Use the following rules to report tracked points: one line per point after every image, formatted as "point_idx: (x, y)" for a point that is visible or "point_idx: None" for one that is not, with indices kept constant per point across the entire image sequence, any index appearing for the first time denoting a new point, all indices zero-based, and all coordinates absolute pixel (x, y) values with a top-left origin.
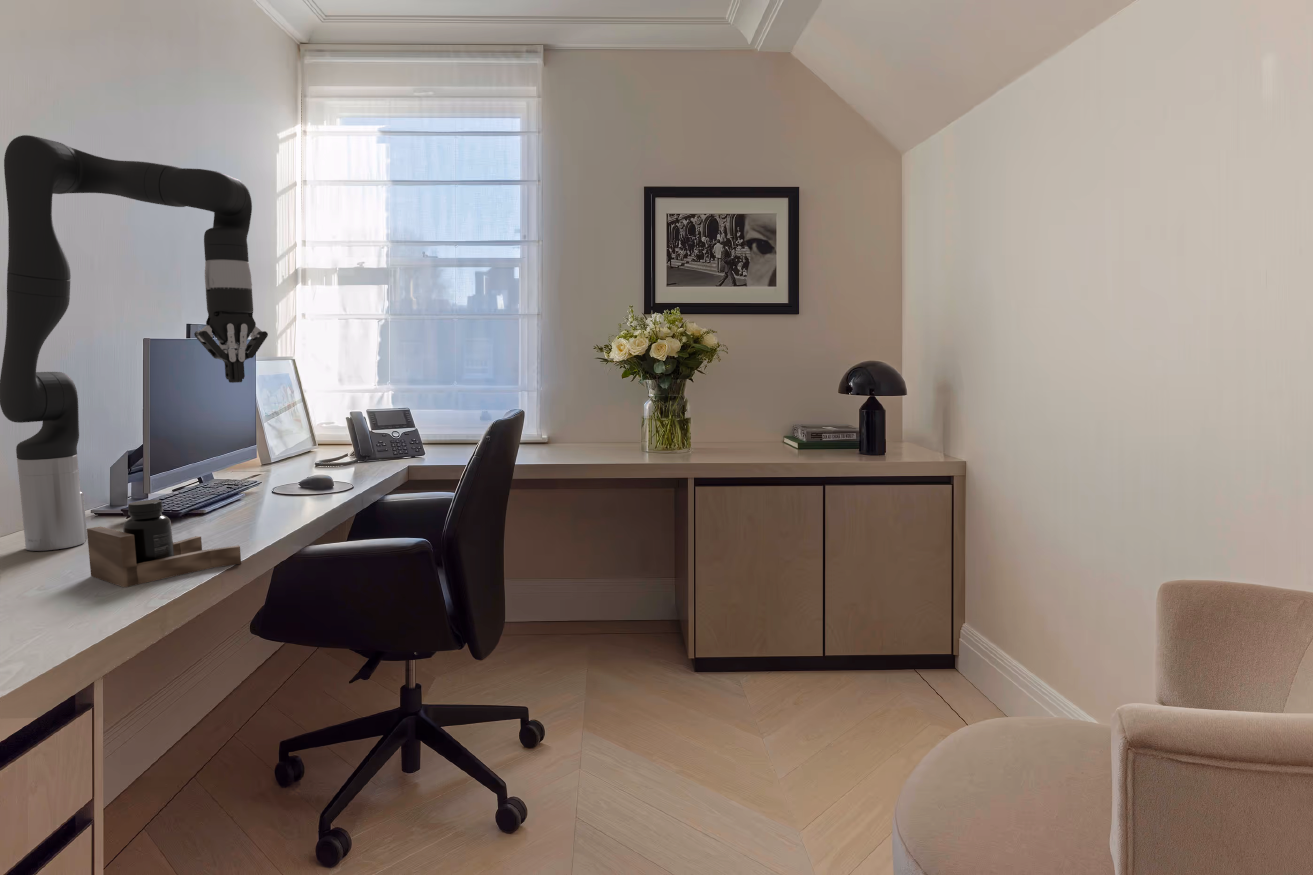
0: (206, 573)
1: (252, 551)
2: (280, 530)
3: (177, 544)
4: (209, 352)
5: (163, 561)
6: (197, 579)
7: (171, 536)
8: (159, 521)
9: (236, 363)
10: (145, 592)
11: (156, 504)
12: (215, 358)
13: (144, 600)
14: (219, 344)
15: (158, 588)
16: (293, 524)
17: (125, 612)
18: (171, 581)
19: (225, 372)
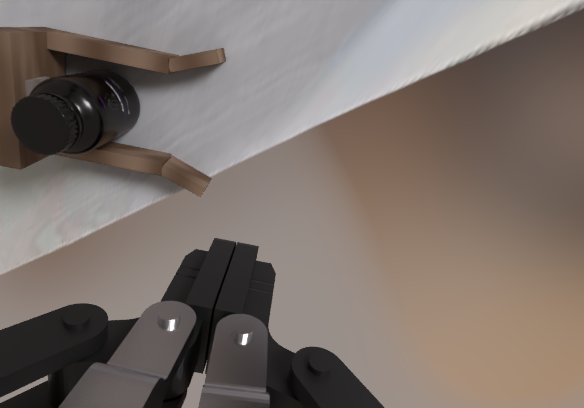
0: (149, 184)
1: (267, 139)
2: (420, 43)
3: (165, 72)
4: (5, 333)
5: (91, 161)
6: (126, 199)
7: (108, 140)
8: (70, 153)
9: (200, 365)
10: (57, 190)
11: (52, 154)
12: (82, 308)
13: (42, 218)
14: (71, 399)
15: (75, 189)
16: (481, 18)
17: (10, 239)
18: (101, 175)
19: (177, 272)
